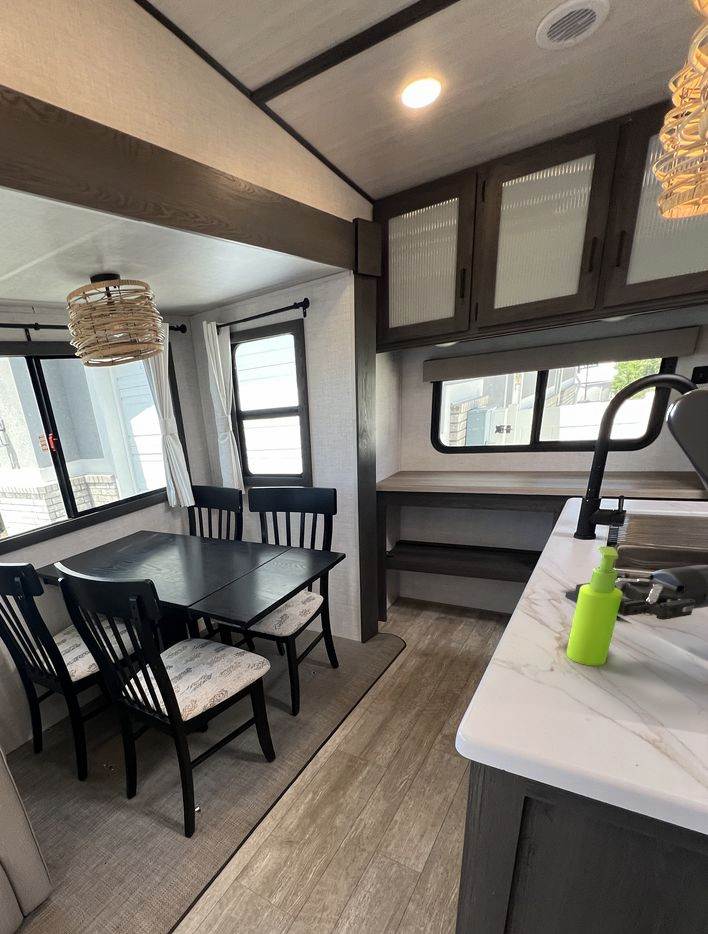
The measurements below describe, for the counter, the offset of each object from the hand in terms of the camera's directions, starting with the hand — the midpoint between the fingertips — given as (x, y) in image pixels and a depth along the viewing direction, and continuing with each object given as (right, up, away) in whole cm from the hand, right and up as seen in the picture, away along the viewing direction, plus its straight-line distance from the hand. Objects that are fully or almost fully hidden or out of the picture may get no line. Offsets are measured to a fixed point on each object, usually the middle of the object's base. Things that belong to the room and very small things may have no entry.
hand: (601, 599), depth 80 cm
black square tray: (+19, -1, +21) cm, 28 cm away
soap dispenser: (0, -10, +4) cm, 11 cm away
